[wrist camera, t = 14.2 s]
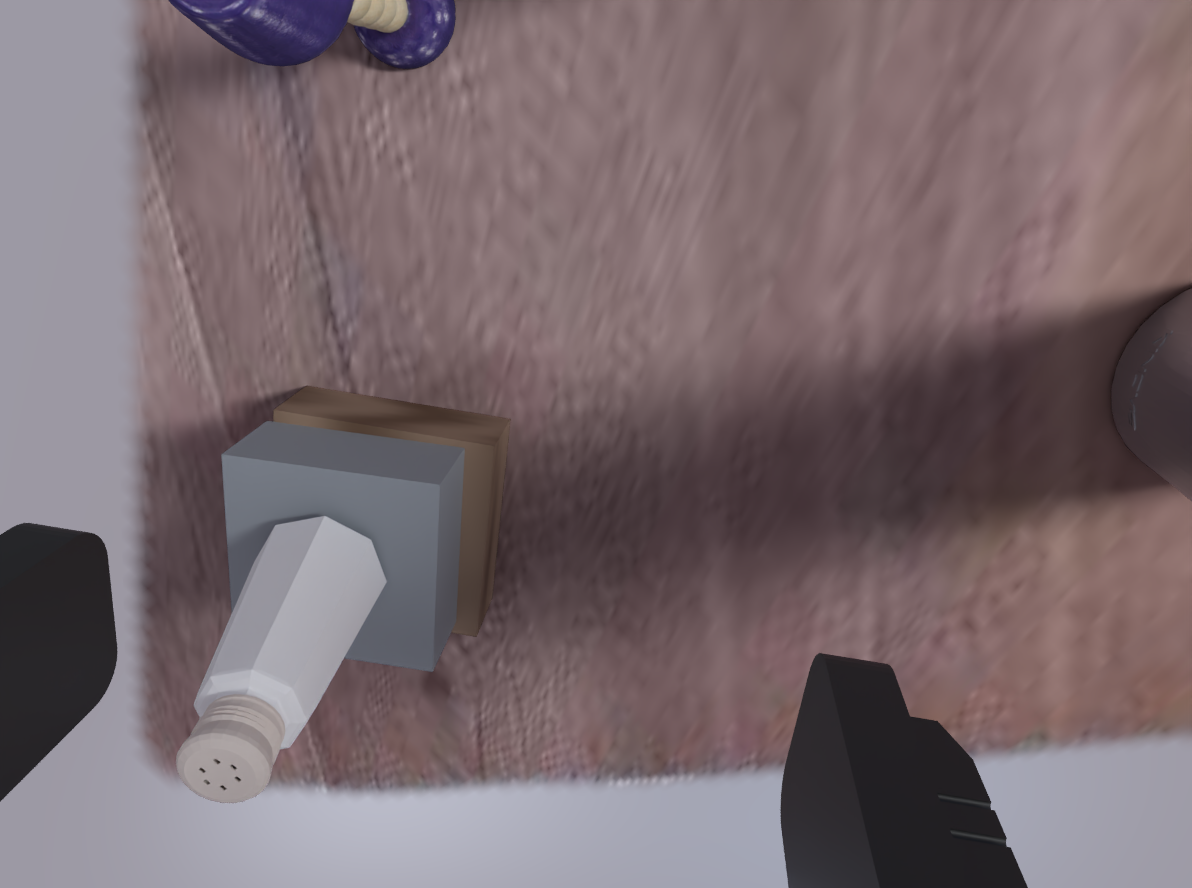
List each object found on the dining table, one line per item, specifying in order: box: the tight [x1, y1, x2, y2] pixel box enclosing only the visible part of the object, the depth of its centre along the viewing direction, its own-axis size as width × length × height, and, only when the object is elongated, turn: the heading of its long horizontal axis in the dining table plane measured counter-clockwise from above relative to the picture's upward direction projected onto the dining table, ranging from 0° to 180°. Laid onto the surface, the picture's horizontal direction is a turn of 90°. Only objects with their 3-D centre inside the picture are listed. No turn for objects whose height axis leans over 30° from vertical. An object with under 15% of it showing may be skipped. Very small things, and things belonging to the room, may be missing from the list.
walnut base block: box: [273, 386, 511, 637], centre depth 42 cm, size 10×10×4 cm
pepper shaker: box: [176, 516, 387, 803], centre depth 31 cm, size 5×5×11 cm
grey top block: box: [221, 421, 465, 672], centre depth 38 cm, size 9×9×4 cm
